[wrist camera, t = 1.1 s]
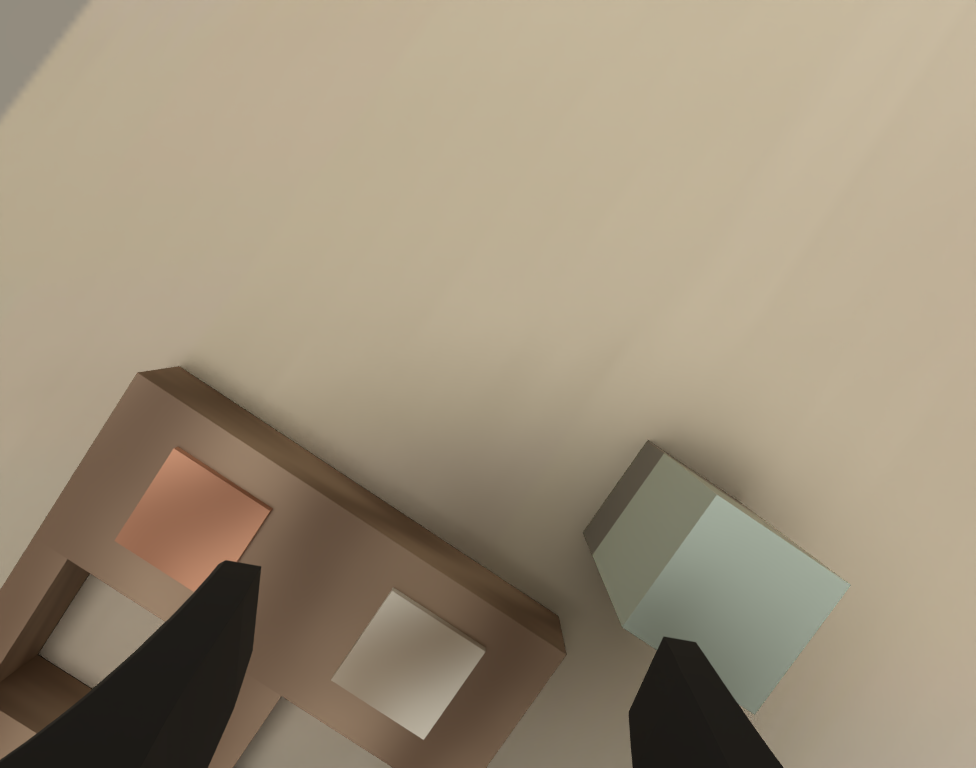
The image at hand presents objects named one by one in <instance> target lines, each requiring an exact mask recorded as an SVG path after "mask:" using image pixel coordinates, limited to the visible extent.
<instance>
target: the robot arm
mask: <svg viewBox="0 0 976 768" xmlns="http://www.w3.org/2000/svg"><path fill="white" fill-rule="evenodd" d="M260 575H261V566H257V565H251V564H245V563H240V562H234V561H228V560H225V561H223V562H221V563H220V564H218V565H217V566H216V568H215V569H214V570H213V571H212V572H211V574H210V575H209V576H208V577H207V578H206V579H205V581H204V582H203V583H202V584H201V585H200V586H199V587H198V588H197V590H196V591H195V592H194V593H193V594H192V595H191V596H190V597H189V598H188V599H187V600H186V601H185V602H184V603H183V605H182V606H181V607H180V608H179V609H178V610H177V611H176V612H175V613H174V614H173V615H172V616H171V617H170V618H169V619H168V620H167V621H166V622H165V623H164V624H163V625H162V626H161V627H160V628H159V629H158V630H157V631H156V632H155V633H154V634H153V635H152V636H151V637H149V638H148V639H147V640H146V641H145V642H144V643H143V644H142V645H141V646H140V647H139V648H138V649H137V650H136V651H135V652H134V653H133V654H132V655H131V656H130V657H128V658H127V659H126V660H125V661H124V662H123V663H122V664H121V665H119V666H118V667H117V668H116V669H115V670H114V671H113V672H111V673H110V674H109V675H108V676H107V677H106V678H105V679H103V680H102V681H101V682H100V683H99V684H98V685H97V686H95V687H94V688H93V689H92V690H91V691H90V692H89V693H87V694H86V695H85V696H84V697H82V698H81V699H80V700H79V701H78V702H76V703H75V704H74V705H73V706H71V707H70V708H69V709H68V710H66V711H65V712H64V713H63V714H61V715H60V716H59V717H58V718H56V719H55V720H54V721H52V722H51V723H50V724H49V725H47V726H46V727H45V728H43V729H42V730H41V731H39V732H38V733H37V734H35V735H34V736H33V737H31V738H30V739H29V740H27V741H26V742H25V743H23V744H22V745H20V746H19V747H18V748H16V749H15V750H13V751H12V752H10V753H9V754H8V755H6V756H5V757H3V758H2V759H1V760H0V768H208V767H209V764H210V762H211V760H212V758H213V755H214V753H215V751H216V749H217V746H218V744H219V742H220V739H221V737H222V735H223V733H224V730H225V728H226V726H227V724H228V721H229V719H230V717H231V714H232V712H233V710H234V707H235V704H236V701H237V698H238V695H239V692H240V689H241V686H242V683H243V680H244V676H245V673H246V670H247V667H248V664H249V661H250V658H251V654H252V651H253V643H254V633H255V624H256V614H257V604H258V594H259V585H260ZM629 725H630V741H631V753H632V764H633V768H783V766H782V765H781V764H780V762H779V761H778V760H777V758H776V757H775V756H774V754H773V753H772V751H771V750H770V749H769V747H768V746H767V745H766V743H765V742H764V740H763V739H762V738H761V736H760V735H759V733H758V732H757V731H756V729H755V728H754V726H753V725H752V723H751V722H750V721H749V719H748V718H747V716H746V715H745V713H744V712H743V711H742V709H741V708H740V706H739V705H738V703H737V702H736V700H735V699H734V697H733V696H732V694H731V693H730V691H729V690H728V689H727V687H726V686H725V684H724V683H723V681H722V680H721V678H720V677H719V675H718V674H717V672H716V671H715V669H714V668H713V666H712V665H711V663H710V662H709V660H708V659H707V657H706V656H705V654H704V653H703V652H702V650H701V649H700V647H699V646H698V644H697V643H696V642H693V641H687V640H681V639H676V638H670V637H664V636H663V639H662V641H661V643H660V645H659V647H658V649H657V652H656V654H655V656H654V658H653V660H652V663H651V665H650V667H649V669H648V671H647V673H646V676H645V678H644V680H643V682H642V684H641V687H640V689H639V691H638V693H637V695H636V697H635V700H634V702H633V704H632V706H631V708H630V711H629Z"/></svg>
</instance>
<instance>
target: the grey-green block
mask: <svg viewBox="0 0 976 768" xmlns="http://www.w3.org/2000/svg"><path fill="white" fill-rule="evenodd" d="M583 534H584V537H585V539H586V541H587V544H588V546H589V549H590V551H591V553H592V556H593V558H594V561H595V563H596V566H597V568H598V570H599V573H600V575H601V578H602V580H603V582H604V585H605V587H606V590H607V592H608V594H609V597H610V599H611V602H612V604H613V607H614V609H615V611H616V614H617V616H618V619H619V621H620V623H621V626H622V627H623V628H624V629H626V630H627V631H629V632H630V633H632V634H633V635H635V636H636V637H638V638H639V639H641V640H642V641H644V642H645V643H647V644H648V645H650V646H651V647H653V648H654V649H656V650H657V649H658V647H659V645H660V643H661V641H662V639H663V636H664V637H670V638H676V639H681V640H687V641H693V642H696V643H697V644H698V646H699V647H700V649H701V650H702V652H703V653H704V654H705V656H706V657H707V659H708V660H709V662H710V663H711V665H712V666H713V668H714V669H715V671H716V672H717V674H718V675H719V677H720V678H721V680H722V681H723V683H724V684H725V686H726V687H727V689H728V690H729V691H730V693H731V694H732V696H733V697H734V699H735V700H736V702H737V703H738V704H739V705H741V706H742V707H744V708H745V709H747V710H748V711H750V712H751V713H753V714H754V715H755V713H756V712H757V711H758V709H759V708H760V707H761V705H762V704H763V703H764V701H765V700H766V699H767V697H768V696H769V695H770V693H771V692H772V691H773V689H774V688H775V687H776V685H777V684H778V683H779V681H780V680H781V678H782V677H783V676H784V674H785V673H786V672H787V670H788V669H789V668H790V666H791V665H792V664H793V662H794V661H795V660H796V658H797V657H798V656H799V654H800V653H801V652H802V650H803V649H804V648H805V646H806V645H807V643H808V642H809V641H810V639H811V638H812V637H813V635H814V634H815V633H816V631H817V630H818V629H819V627H820V626H821V625H822V623H823V622H824V621H825V619H826V618H827V617H828V615H829V614H830V613H831V611H832V610H833V608H834V607H835V606H836V604H837V603H838V602H839V600H840V599H841V598H842V596H843V595H844V594H845V592H846V591H847V590H848V588H849V587H850V586H851V585H850V584H849V583H848V582H846V581H845V580H844V579H842V578H841V577H840V576H838V575H837V574H835V573H834V572H833V571H831V570H830V569H829V568H827V567H826V566H825V565H823V564H822V563H821V562H819V561H818V560H817V559H815V558H814V557H813V556H811V555H810V554H809V553H807V552H806V551H805V550H803V549H802V548H801V547H799V546H798V545H797V544H795V543H794V542H793V541H791V540H790V539H789V538H787V537H786V536H785V535H783V534H782V533H781V532H779V531H778V530H777V529H775V528H774V527H772V526H771V525H770V524H768V523H767V522H766V521H764V520H763V519H762V518H760V517H759V516H758V515H756V514H755V513H754V512H752V511H751V510H750V509H748V508H747V507H746V506H744V505H743V504H742V503H740V502H739V501H737V500H736V499H734V498H733V497H731V496H730V495H728V494H727V493H725V492H724V491H722V490H721V489H720V488H718V487H717V486H715V485H714V484H712V483H711V482H709V481H708V480H706V479H705V478H703V477H702V476H700V475H699V474H697V473H696V472H694V471H693V470H691V469H690V468H688V467H687V466H685V465H684V464H683V463H681V462H680V461H678V460H677V459H675V458H674V457H672V456H671V455H669V454H668V453H666V452H665V451H663V450H662V449H660V448H659V447H657V446H656V445H654V444H653V443H651V442H650V441H647V442H646V443H645V445H644V446H643V448H642V449H641V451H640V452H639V453H638V455H637V456H636V458H635V459H634V460H633V462H632V463H631V465H630V466H629V468H628V469H627V470H626V472H625V473H624V475H623V476H622V478H621V479H620V480H619V482H618V483H617V485H616V486H615V488H614V489H613V490H612V492H611V493H610V495H609V496H608V497H607V499H606V500H605V502H604V503H603V505H602V506H601V507H600V509H599V510H598V512H597V513H596V515H595V516H594V517H593V519H592V520H591V522H590V523H589V525H588V526H587V527H586V529H585V530H584V532H583Z"/></svg>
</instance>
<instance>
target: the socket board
mask: <svg viewBox="0 0 976 768" xmlns="http://www.w3.org/2000/svg"><path fill="white" fill-rule="evenodd" d="M225 560H228V561H234V562H240V563H245V564H251V565H257V566H261V575H260V585H259V594H258V604H257V614H256V624H255V633H254V643H253V651H252V654H251V658H250V661H249V664H248V667H247V670H246V673H245V676H244V680H243V683H242V686H241V689H240V692H239V695H238V698H237V701H236V704H235V707H234V710H233V712H232V714H231V717H230V719H229V721H228V724H227V726H226V728H225V730H224V733H223V735H222V737H221V739H220V742H219V744H218V746H217V749H216V751H215V753H214V755H213V758H212V760H211V762H210V764H209V767H208V768H233V767H234V765H235V764H236V762H237V761H238V759H239V758H240V756H241V755H242V753H243V752H244V750H245V749H246V747H247V746H248V744H249V743H250V741H251V740H252V739H253V737H254V736H255V734H256V733H257V731H258V730H259V728H260V727H261V725H262V724H263V722H264V721H265V719H266V718H267V716H268V715H269V713H270V712H271V710H272V709H273V708H274V706H275V705H276V703H277V702H278V700H279V699H280V697H281V696H282V697H284V698H285V699H287V700H288V701H290V702H291V703H293V704H295V705H296V706H298V707H299V708H301V709H302V710H304V711H305V712H307V713H309V714H310V715H312V716H313V717H315V718H316V719H318V720H320V721H321V722H323V723H324V724H326V725H327V726H329V727H330V728H332V729H334V730H335V731H337V732H338V733H340V734H341V735H343V736H344V737H346V738H348V739H349V740H351V741H352V742H354V743H355V744H357V745H359V746H360V747H362V748H363V749H365V750H366V751H368V752H369V753H371V754H373V755H374V756H376V757H377V758H379V759H380V760H382V761H384V762H385V763H387V764H388V765H390V766H391V767H393V768H486V767H487V766H488V764H489V763H490V761H491V760H492V759H493V757H494V756H495V754H496V753H497V752H498V750H499V749H500V747H501V746H502V744H503V743H504V742H505V740H506V739H507V737H508V736H509V735H510V733H511V732H512V730H513V729H514V728H515V726H516V725H517V723H518V722H519V721H520V719H521V718H522V716H523V715H524V714H525V712H526V711H527V709H528V708H529V707H530V705H531V704H532V702H533V701H534V700H535V698H536V697H537V695H538V694H539V693H540V691H541V690H542V688H543V687H544V685H545V684H546V683H547V681H548V680H549V678H550V677H551V676H552V674H553V673H554V671H555V670H556V669H557V667H558V666H559V664H560V663H561V662H562V660H563V659H564V657H565V656H566V655H567V654H566V650H565V645H564V641H563V636H562V631H561V627H560V622H559V617H558V616H557V615H556V614H554V613H553V612H551V611H550V610H548V609H546V608H545V607H543V606H542V605H540V604H539V603H537V602H536V601H534V600H533V599H531V598H530V597H528V596H527V595H525V594H524V593H522V592H521V591H519V590H518V589H516V588H515V587H513V586H512V585H510V584H509V583H507V582H506V581H504V580H502V579H501V578H499V577H498V576H496V575H495V574H493V573H492V572H490V571H489V570H487V569H486V568H484V567H483V566H481V565H480V564H478V563H477V562H475V561H474V560H472V559H471V558H469V557H468V556H466V555H465V554H463V553H462V552H460V551H458V550H457V549H455V548H454V547H452V546H451V545H449V544H448V543H446V542H445V541H443V540H442V539H440V538H439V537H437V536H436V535H434V534H433V533H431V532H430V531H428V530H427V529H425V528H424V527H422V526H421V525H419V524H418V523H416V522H414V521H413V520H411V519H410V518H408V517H407V516H405V515H404V514H402V513H401V512H399V511H398V510H396V509H395V508H393V507H392V506H390V505H389V504H387V503H386V502H384V501H383V500H381V499H380V498H378V497H377V496H375V495H373V494H372V493H370V492H369V491H367V490H366V489H364V488H363V487H361V486H360V485H358V484H357V483H355V482H354V481H352V480H351V479H349V478H348V477H346V476H345V475H343V474H342V473H340V472H339V471H337V470H336V469H334V468H333V467H331V466H329V465H328V464H326V463H325V462H323V461H322V460H320V459H319V458H317V457H316V456H314V455H313V454H311V453H310V452H308V451H307V450H305V449H304V448H302V447H301V446H299V445H298V444H296V443H295V442H293V441H292V440H290V439H289V438H287V437H285V436H284V435H282V434H281V433H279V432H278V431H276V430H275V429H273V428H272V427H270V426H269V425H267V424H266V423H264V422H263V421H261V420H260V419H258V418H257V417H255V416H254V415H252V414H251V413H249V412H248V411H246V410H245V409H243V408H241V407H240V406H238V405H237V404H235V403H234V402H232V401H231V400H229V399H228V398H226V397H225V396H223V395H222V394H220V393H219V392H217V391H216V390H214V389H213V388H211V387H210V386H208V385H207V384H205V383H204V382H202V381H201V380H199V379H197V378H196V377H194V376H193V375H191V374H190V373H188V372H187V371H185V370H184V369H182V368H181V367H179V366H178V367H172V368H165V369H158V370H152V371H145V372H139V373H137V374H136V376H135V377H134V379H133V380H132V382H131V383H130V385H129V387H128V388H127V390H126V391H125V393H124V395H123V396H122V398H121V399H120V401H119V403H118V404H117V406H116V407H115V409H114V410H113V412H112V414H111V415H110V417H109V418H108V420H107V422H106V423H105V425H104V426H103V428H102V429H101V431H100V433H99V434H98V436H97V437H96V439H95V441H94V442H93V444H92V445H91V447H90V448H89V450H88V452H87V453H86V455H85V456H84V458H83V460H82V461H81V463H80V464H79V466H78V468H77V469H76V471H75V472H74V474H73V475H72V477H71V479H70V480H69V482H68V483H67V485H66V487H65V488H64V490H63V491H62V493H61V494H60V496H59V498H58V499H57V501H56V502H55V504H54V506H53V507H52V509H51V510H50V512H49V513H48V515H47V517H46V518H45V520H44V521H43V523H42V525H41V526H40V528H39V529H38V531H37V533H36V534H35V536H34V537H33V539H32V540H31V542H30V544H29V545H28V547H27V548H26V550H25V552H24V553H23V555H22V556H21V558H20V559H19V561H18V563H17V564H16V566H15V567H14V569H13V571H12V572H11V574H10V575H9V577H8V578H7V580H6V582H5V583H4V585H3V586H2V588H1V590H0V760H1V759H2V758H3V757H5V756H6V755H8V754H9V753H10V752H12V751H13V750H15V749H16V748H18V747H19V746H20V745H22V744H23V743H25V742H26V741H27V740H29V739H30V738H31V737H33V736H34V735H35V734H37V733H38V732H39V731H41V730H42V729H43V728H45V727H46V726H47V725H49V724H50V723H51V722H52V721H54V720H55V719H56V718H58V717H59V716H60V715H61V714H63V713H64V712H65V711H66V710H68V709H69V708H70V707H71V706H73V705H74V704H75V703H76V702H78V701H79V700H80V699H81V698H82V697H84V696H85V695H86V694H87V693H89V692H90V691H91V690H92V689H91V688H89V687H88V686H86V685H84V684H83V683H81V682H80V681H78V680H77V679H75V678H73V677H72V676H70V675H69V674H67V673H66V672H64V671H62V670H61V669H59V668H58V667H56V666H54V665H53V664H51V663H50V662H48V661H47V660H45V659H43V658H42V657H40V656H39V655H38V653H39V651H40V650H41V648H42V647H43V645H44V644H45V642H46V640H47V639H48V637H49V636H50V634H51V633H52V631H53V630H54V628H55V626H56V625H57V623H58V622H59V620H60V619H61V617H62V616H63V614H64V612H65V611H66V609H67V608H68V606H69V605H70V603H71V601H72V600H73V598H74V597H75V595H76V594H77V592H78V591H79V589H80V587H81V586H82V584H83V583H84V581H85V580H86V578H87V577H88V575H89V573H90V574H92V575H93V576H95V577H96V578H98V579H100V580H101V581H103V582H104V583H106V584H107V585H109V586H110V587H112V588H114V589H115V590H117V591H118V592H120V593H121V594H123V595H124V596H126V597H128V598H129V599H131V600H132V601H134V602H135V603H137V604H139V605H140V606H142V607H143V608H145V609H146V610H148V611H149V612H151V613H153V614H154V615H156V616H157V617H159V618H160V619H162V620H163V621H165V622H166V621H167V620H168V619H169V618H170V617H171V616H172V615H173V614H174V613H175V612H176V611H177V610H178V609H179V608H180V607H181V606H182V605H183V603H184V602H185V601H186V600H187V599H188V598H189V597H190V596H191V595H192V594H193V593H194V592H195V591H196V590H197V588H198V587H199V586H200V585H201V584H202V583H203V582H204V581H205V579H206V578H207V577H208V576H209V575H210V574H211V572H212V571H213V570H214V569H215V568H216V566H217V565H218V564H220V563H221V562H223V561H225Z"/></svg>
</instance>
